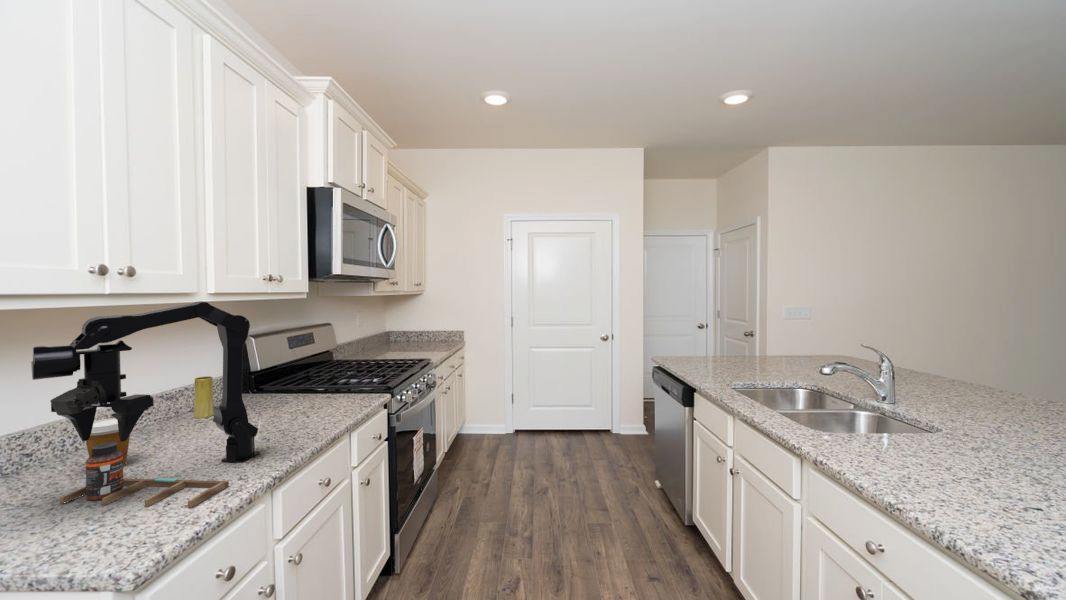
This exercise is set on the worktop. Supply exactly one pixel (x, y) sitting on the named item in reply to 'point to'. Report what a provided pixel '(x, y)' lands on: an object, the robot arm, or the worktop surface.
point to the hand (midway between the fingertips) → (104, 440)
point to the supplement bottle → (104, 471)
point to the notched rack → (164, 482)
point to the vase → (203, 397)
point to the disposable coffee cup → (107, 436)
